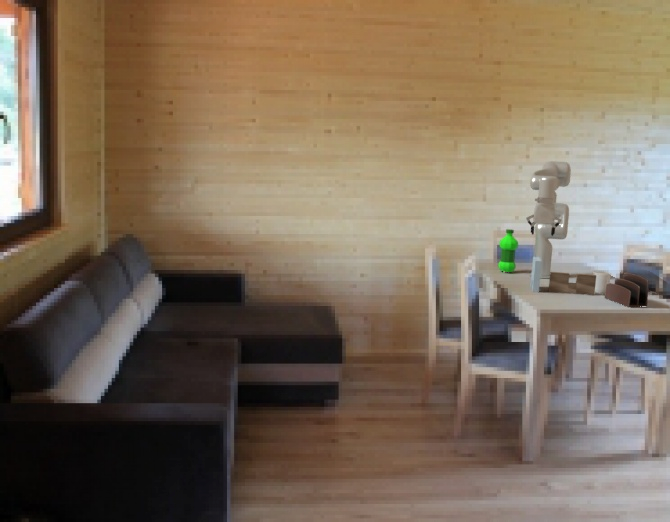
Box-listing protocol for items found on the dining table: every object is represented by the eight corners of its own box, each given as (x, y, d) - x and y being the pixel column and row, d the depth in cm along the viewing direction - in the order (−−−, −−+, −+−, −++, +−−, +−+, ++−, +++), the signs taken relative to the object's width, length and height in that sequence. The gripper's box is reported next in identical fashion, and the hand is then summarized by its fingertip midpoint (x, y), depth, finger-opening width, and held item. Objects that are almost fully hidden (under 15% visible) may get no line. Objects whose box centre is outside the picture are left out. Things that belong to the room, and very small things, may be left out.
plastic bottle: (494, 272, 409) (498, 229, 405) (502, 270, 417) (505, 228, 413) (510, 274, 403) (514, 231, 399) (518, 272, 411) (521, 230, 407)
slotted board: (548, 290, 361) (550, 271, 360) (593, 294, 358) (595, 274, 356) (549, 291, 359) (551, 272, 357) (594, 295, 355) (596, 275, 353)
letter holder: (622, 298, 351) (625, 270, 349) (647, 307, 332) (650, 278, 329) (604, 298, 349) (607, 270, 346) (628, 308, 330) (631, 278, 327)
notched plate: (530, 286, 370) (533, 256, 368) (536, 287, 370) (539, 257, 367) (532, 291, 357) (535, 260, 354) (538, 292, 356) (541, 261, 353)
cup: (596, 293, 360) (598, 273, 358) (585, 288, 371) (587, 269, 370) (611, 293, 361) (613, 274, 359) (600, 288, 372) (602, 269, 371)
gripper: (528, 200, 353) (525, 234, 356) (564, 202, 350) (560, 236, 353) (527, 199, 361) (524, 232, 363) (562, 201, 358) (559, 235, 360)
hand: (542, 234), depth 358 cm, fingers open, 9 cm apart
